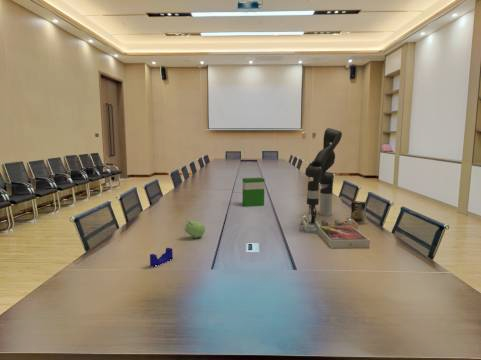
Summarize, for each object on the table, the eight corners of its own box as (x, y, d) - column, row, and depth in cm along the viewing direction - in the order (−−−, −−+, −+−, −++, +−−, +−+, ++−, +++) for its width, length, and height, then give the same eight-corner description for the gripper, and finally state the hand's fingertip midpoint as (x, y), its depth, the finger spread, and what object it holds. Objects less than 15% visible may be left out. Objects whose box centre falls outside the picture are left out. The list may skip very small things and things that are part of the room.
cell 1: (299, 223, 235) (300, 214, 234) (306, 223, 234) (306, 214, 233) (300, 225, 230) (301, 215, 229) (307, 225, 230) (307, 215, 229)
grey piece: (302, 227, 225) (302, 219, 224) (355, 227, 225) (356, 219, 224) (305, 232, 214) (305, 223, 214) (361, 232, 214) (361, 223, 213)
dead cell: (345, 227, 221) (345, 216, 220) (351, 227, 221) (352, 217, 220) (347, 229, 217) (347, 218, 216) (354, 229, 217) (354, 218, 216)
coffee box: (350, 224, 232) (351, 202, 230) (351, 222, 237) (353, 200, 235) (364, 226, 228) (365, 203, 225) (365, 224, 233) (366, 201, 231)
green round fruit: (196, 233, 211) (196, 216, 209) (207, 237, 203) (207, 220, 201) (180, 237, 203) (180, 220, 201) (191, 242, 195) (191, 223, 193)
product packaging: (331, 249, 185) (331, 240, 184) (317, 233, 213) (317, 226, 212) (369, 248, 186) (369, 239, 185) (350, 233, 214) (350, 225, 213)
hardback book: (261, 203, 299) (261, 177, 296) (264, 205, 292) (264, 178, 289) (242, 205, 294) (242, 178, 291) (245, 206, 287) (245, 179, 284)
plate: (325, 225, 222) (325, 224, 222) (334, 225, 222) (334, 224, 222) (327, 228, 216) (327, 226, 216) (337, 228, 216) (337, 226, 216)
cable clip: (166, 258, 170) (166, 246, 169) (172, 260, 168) (172, 248, 167) (148, 265, 160) (147, 254, 160) (154, 268, 158) (154, 255, 157)
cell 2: (307, 222, 221) (308, 212, 220) (314, 222, 221) (315, 212, 220) (309, 224, 217) (309, 214, 216) (316, 224, 217) (316, 214, 216)
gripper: (321, 199, 209) (320, 225, 212) (316, 195, 224) (315, 219, 226) (309, 199, 210) (308, 225, 212) (305, 195, 224) (304, 219, 226)
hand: (312, 222), depth 219 cm, fingers closed on cell 2, 4 cm apart
